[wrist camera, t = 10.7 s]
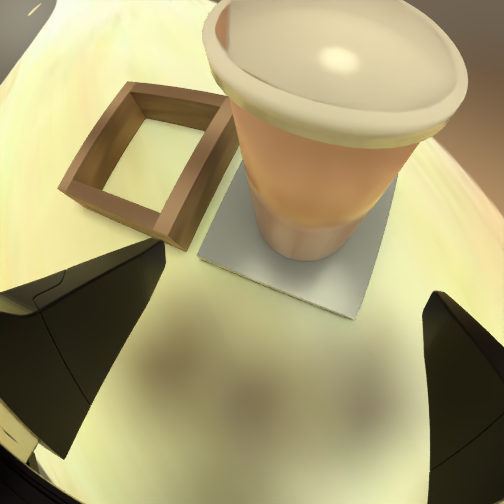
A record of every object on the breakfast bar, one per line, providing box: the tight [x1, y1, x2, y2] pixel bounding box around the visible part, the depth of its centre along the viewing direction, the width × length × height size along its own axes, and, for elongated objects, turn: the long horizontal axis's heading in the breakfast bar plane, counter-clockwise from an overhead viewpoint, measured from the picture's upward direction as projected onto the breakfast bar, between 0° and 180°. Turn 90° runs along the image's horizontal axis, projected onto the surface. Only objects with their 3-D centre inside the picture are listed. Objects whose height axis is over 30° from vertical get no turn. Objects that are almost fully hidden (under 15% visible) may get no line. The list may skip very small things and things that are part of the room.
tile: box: [197, 160, 398, 320], centre depth 18 cm, size 10×10×1 cm
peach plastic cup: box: [202, 0, 468, 261], centre depth 12 cm, size 9×7×13 cm
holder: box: [57, 81, 239, 251], centre depth 19 cm, size 10×10×4 cm
